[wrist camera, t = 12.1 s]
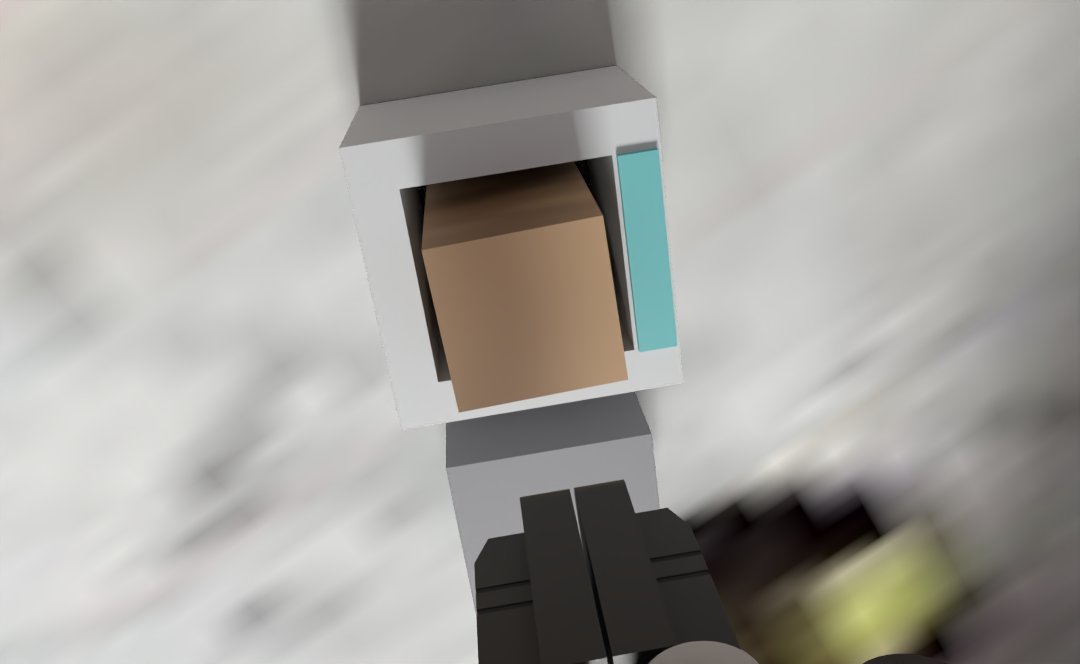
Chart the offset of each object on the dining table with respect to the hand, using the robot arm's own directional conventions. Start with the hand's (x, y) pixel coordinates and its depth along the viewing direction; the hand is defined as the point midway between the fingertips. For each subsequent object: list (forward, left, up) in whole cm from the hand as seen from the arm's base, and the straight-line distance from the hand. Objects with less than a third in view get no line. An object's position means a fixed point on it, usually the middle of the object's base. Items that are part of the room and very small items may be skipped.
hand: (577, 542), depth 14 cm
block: (0, 0, -18) cm, 18 cm away
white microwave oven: (0, 0, -18) cm, 18 cm away
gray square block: (0, +9, -18) cm, 20 cm away
